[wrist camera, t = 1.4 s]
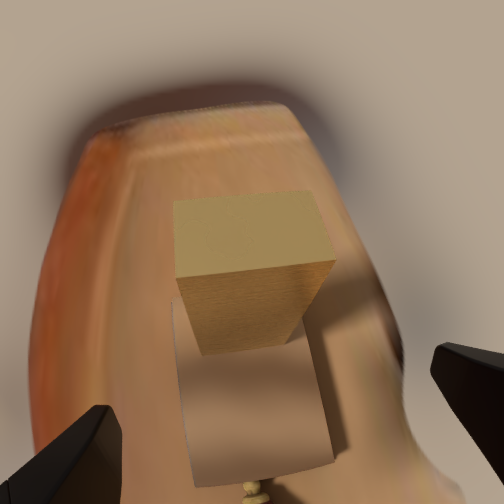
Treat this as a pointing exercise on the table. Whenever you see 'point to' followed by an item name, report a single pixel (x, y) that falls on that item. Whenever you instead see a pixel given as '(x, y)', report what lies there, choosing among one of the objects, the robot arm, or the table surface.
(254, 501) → the gavel
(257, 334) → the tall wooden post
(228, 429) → the tan flat block
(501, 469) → the robot arm
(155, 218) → the table surface
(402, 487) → the table surface
